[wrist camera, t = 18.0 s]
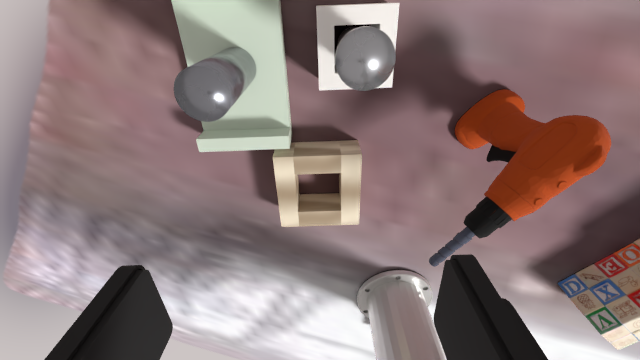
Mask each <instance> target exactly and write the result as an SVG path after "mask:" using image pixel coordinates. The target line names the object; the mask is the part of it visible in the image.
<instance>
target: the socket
mask: <svg viewBox="0 0 640 360" xmlns="http://www.w3.org/2000/svg"><path fill="white" fill-rule="evenodd" d="M361 163H362V153H361V150H360V146H359V143H358V140H347V141H319V142H291V144H290V149H275V151H274V154H273V165H274V173H275V180H276V188H277V196H278V204H279V211H280V219H281V227H295V226H325V225H356V224H359V212H360V187H361ZM327 173H339V193H325V194H300V193H299V181H298V174H327Z"/></svg>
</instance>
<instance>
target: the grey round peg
mask: <svg viewBox="0 0 640 360" xmlns="http://www.w3.org/2000/svg"><path fill="white" fill-rule="evenodd" d="M255 75H256V64H255V61H254V59H253V57H252V56H251V55H250V54H249V53H248V52H247V51H246V50H244V49H242V48H239V47H229V48H227V49H225V50H222V51H220V52H218V53H216V54H214V55H212V56H210V57H208V58H206V59H204V60H202V61H200V62H198V63H195V64H193V65H191V66H189V67H187V68H185V69H184V70H182V71H181V72H180V73H179V74H178V75H177V77H176V79H175V83H174V94H175V98H176V101H177V103H178V104H179V106H180V107H181V109H182V110H183V111H184V112H185V113H186V114H187V115H189V116H190V117H192V118H194V119H196V120H199V121H204V122H211V121H216V120H218V119H220V118H222V117H223V116H224V115H225V114H226V113H227V112H228V110H229V109H230V108H231V107H232V106H233V104H234V103H235V102H236V101H237V100H238V98H239V97H240V96H241V95H242V93H243V92H244V91H245V90H246V89H247V87H248V86H249V85H250V84H251V83H252V81H253V80H254V78H255Z"/></svg>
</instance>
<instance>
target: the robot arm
mask: <svg viewBox="0 0 640 360" xmlns="http://www.w3.org/2000/svg"><path fill="white" fill-rule="evenodd" d="M432 295H433V294H432V289H431V287H430V285H429V283H428V281H427V280H426V279H425V278H424V277H422V276H421V275H419V274H417V273H414V272H411V271H405V270H393V271H386V272H383V273H380V274H377V275H375V276H373V277H371V278H370V279H368V280H367V281H366V282H365V283H363V285H362V286H361V287H360V289H359V291H358V294H357V302H358V307H359V309H360V311H361V312H362V313H363V314H364V315H365V316H366V317H368V318H369V319H370V325H371V332H372V338H373V344H374V350H375V356H376V360H548V359H547V357H546V356H545V354H544V353H543V351H542V350H541V348H540V347H539V345H538V343H537V342H536V340H535V339H534V337H533V336H532V334H531V333H530V331H529V330H528V328H527V327H526V325H525V324H524V322H523V321H522V319H521V318H520V316H519V315H518V313H517V311H516V310H515V308H514V307H513V306H512V304H511V303H510V302H509V301H507V300H506V299H503V298H501V297H500V296H499V294H498V293H497V291H496V289H495V288H494V286H493V285H492V283H491V281H490V280H489V278H488V277H487V275H486V274H485V272H484V270H483V269H482V267H481V266H480V264H479V262H478V261H477V259H476V258H475V257H474V256H473V255H452V256H451V259H450V260H446V261H445V265H444V270H443V275H442V280H441V284H440V289H439V294H438V299H437V304H436V309H435V313H434V323H433V321H432V318H431V315H430V312H429V310H428V306H429V305H430V303H431V300H432ZM434 324H435V326H434ZM172 328H173V326H172V322H171V319H170V317H169V315H168V313H167V310H166V308H165V306H164V304H163V301H162V299H161V297H160V295H159V292H158V290H157V288H156V286H155V283H154V281H153V279H152V277H151V274H150V272H149V271H148V270H145V268H144V267H143V266H142V265H134V266H121V267H119V268H118V269H117V270H116V271H115V272H114V274H113V275H112V276H111V277H110V279H109V280H108V281H107V282H106V284H105V285H104V286H103V287H102V289H101V290H100V291H99V292H98V294H97V295H96V296H95V297H94V299H93V300H92V301H91V302H90V304H89V305H88V306H87V307H86V309H85V310H84V311H83V312H82V314H81V315H80V316H79V317H78V319H77V320H76V321H75V322H74V324H73V325H72V326H71V327H70V329H69V330H68V331H67V332H66V334H65V335H64V336H63V337H62V339H61V340H60V341H59V342H58V344H57V345H56V346H55V347H54V348H53V350H52V351H51V352H50V354H49V355H48V356H47V357H46V358H45V360H160V357H161V355H162V353H163V351H164V349H165V347H166V345H167V343H168V340H169V338H170V336H171V334H172ZM435 328H436V329H435ZM436 331H437V332H436ZM437 334H438V335H437ZM439 339H440V340H439ZM440 342H441V343H440ZM441 345H442V346H441ZM443 350H444V351H443ZM444 353H445V354H444Z"/></svg>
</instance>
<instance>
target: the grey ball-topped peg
mask: <svg viewBox="0 0 640 360" xmlns="http://www.w3.org/2000/svg"><path fill="white" fill-rule="evenodd" d="M395 60H396V53H395V48H394V45H393V42H392V41H391V39H390V38H389V36H388V35H387V34H386V33H384V32H383V31H381V30H379V29H377V28H375V27H371V26H361V27H357V28H353V27H352V28H348V29H346V30H344V31H343V32H342V33H341V34H340V36H339V38H338V42H337V49H336V53H335V65H336V69H337V72H338V75H339V77H340V78H341V80H342V81H343V82H344V83H345V84H346V85H347V86H349V87H350V88H352V89H355V90H359V91H368V90H372V89H375V88H377V87H379V86H380V85H382V84H383V83H384V82H385V81H386V80H387V79H388V78H389V76H390V75H391V73H392V71H393V68H394V65H395Z"/></svg>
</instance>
